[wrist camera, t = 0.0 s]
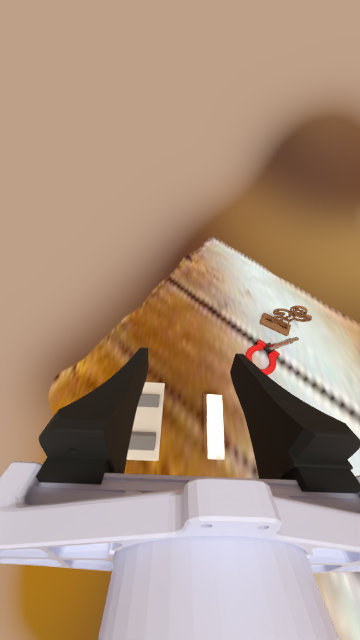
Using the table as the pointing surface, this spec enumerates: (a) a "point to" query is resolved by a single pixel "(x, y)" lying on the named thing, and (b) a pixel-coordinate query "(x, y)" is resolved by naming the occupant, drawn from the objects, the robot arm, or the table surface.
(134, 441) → the peg rack
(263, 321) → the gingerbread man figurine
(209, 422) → the white long rectangular piece
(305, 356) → the table surface
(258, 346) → the tow hook
